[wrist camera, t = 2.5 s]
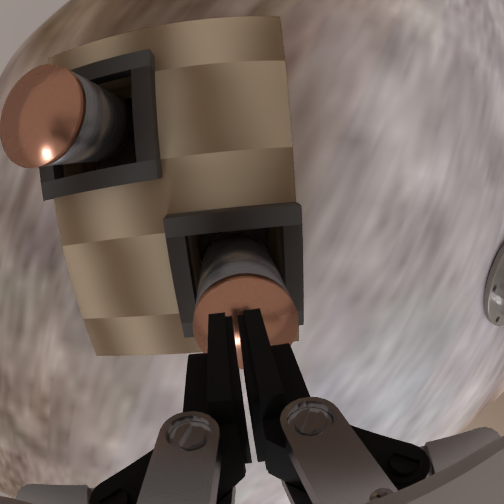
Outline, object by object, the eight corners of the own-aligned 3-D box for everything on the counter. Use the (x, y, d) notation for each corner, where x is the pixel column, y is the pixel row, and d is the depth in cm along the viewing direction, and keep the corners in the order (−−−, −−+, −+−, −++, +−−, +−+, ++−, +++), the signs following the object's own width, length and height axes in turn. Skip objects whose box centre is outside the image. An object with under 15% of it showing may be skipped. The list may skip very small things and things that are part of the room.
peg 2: (269, 229, 17) (297, 273, 11) (273, 294, 18) (298, 361, 12) (197, 236, 17) (184, 285, 10) (207, 301, 18) (201, 373, 12)
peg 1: (130, 86, 14) (80, 50, 7) (134, 154, 15) (82, 154, 9) (68, 102, 13) (1, 84, 7) (72, 167, 14) (3, 178, 8)
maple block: (267, 45, 17) (283, 7, 12) (284, 305, 24) (303, 351, 18) (80, 74, 17) (38, 53, 11) (115, 320, 23) (91, 365, 17)
